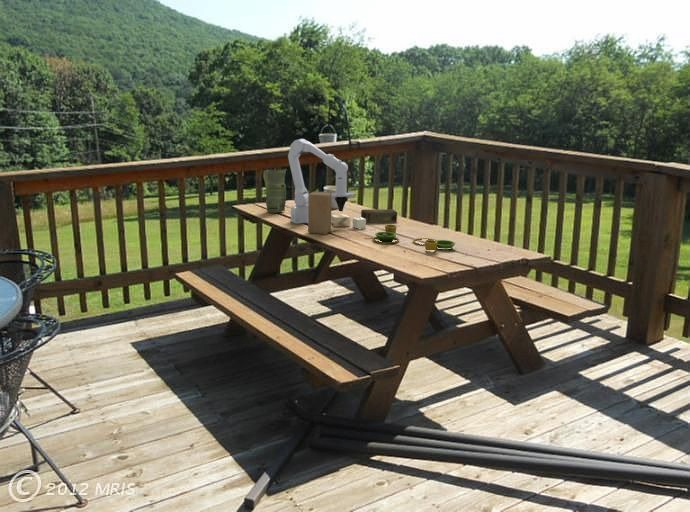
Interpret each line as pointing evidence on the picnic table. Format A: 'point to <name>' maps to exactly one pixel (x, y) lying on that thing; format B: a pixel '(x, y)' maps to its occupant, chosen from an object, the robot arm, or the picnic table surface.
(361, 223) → the numbered cube seven
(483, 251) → the picnic table surface
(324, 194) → the block
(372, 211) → the beverage carton
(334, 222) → the plain block
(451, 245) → the tableware set
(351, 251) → the picnic table surface
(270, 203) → the green vase
